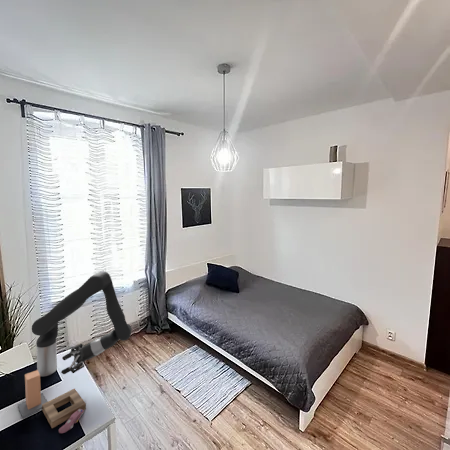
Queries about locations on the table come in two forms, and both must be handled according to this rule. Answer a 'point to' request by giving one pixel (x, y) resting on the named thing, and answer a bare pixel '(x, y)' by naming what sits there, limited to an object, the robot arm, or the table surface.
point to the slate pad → (26, 412)
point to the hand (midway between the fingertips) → (62, 365)
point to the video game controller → (71, 421)
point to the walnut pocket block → (58, 418)
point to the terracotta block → (32, 389)
